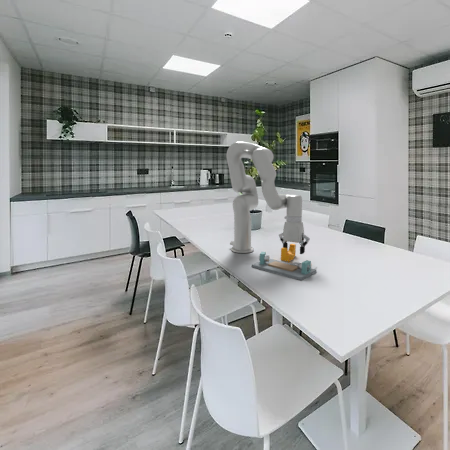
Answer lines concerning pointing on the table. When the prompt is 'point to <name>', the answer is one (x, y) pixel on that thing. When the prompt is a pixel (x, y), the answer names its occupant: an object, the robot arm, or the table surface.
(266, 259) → the short metal cylinder
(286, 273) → the stand
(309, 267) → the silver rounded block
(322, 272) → the table surface
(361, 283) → the table surface
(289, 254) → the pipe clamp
